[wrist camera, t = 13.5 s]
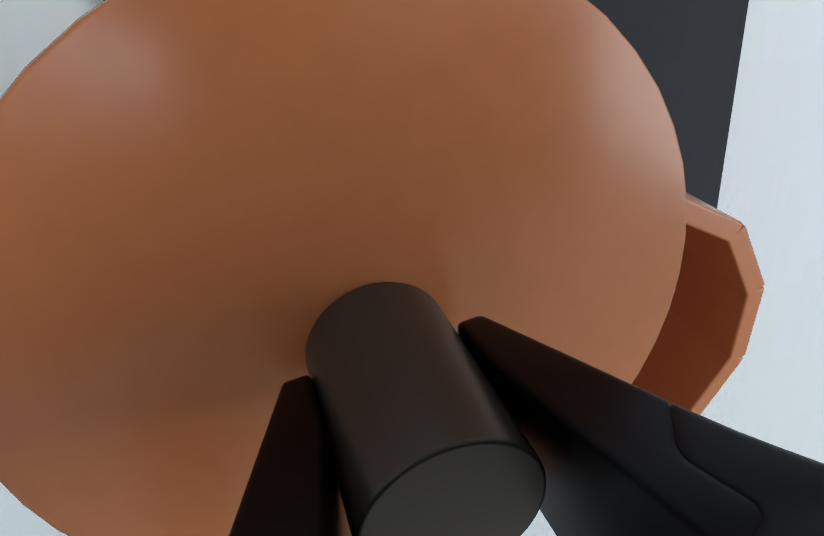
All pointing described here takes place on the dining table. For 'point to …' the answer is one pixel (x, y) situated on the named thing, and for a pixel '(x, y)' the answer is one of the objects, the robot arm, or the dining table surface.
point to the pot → (705, 311)
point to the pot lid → (317, 249)
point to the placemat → (689, 73)
